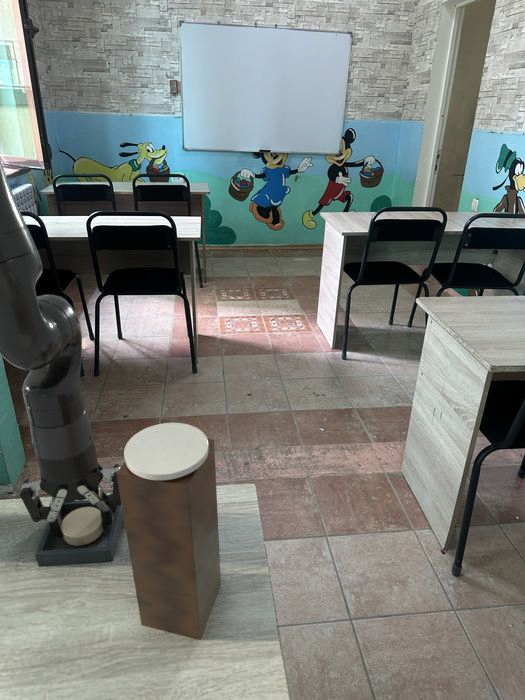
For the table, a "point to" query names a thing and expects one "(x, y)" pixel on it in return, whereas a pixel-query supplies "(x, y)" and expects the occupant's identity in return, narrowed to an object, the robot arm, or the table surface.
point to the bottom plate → (166, 451)
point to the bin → (83, 554)
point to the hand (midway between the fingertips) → (83, 529)
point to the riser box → (173, 546)
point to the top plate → (82, 526)
